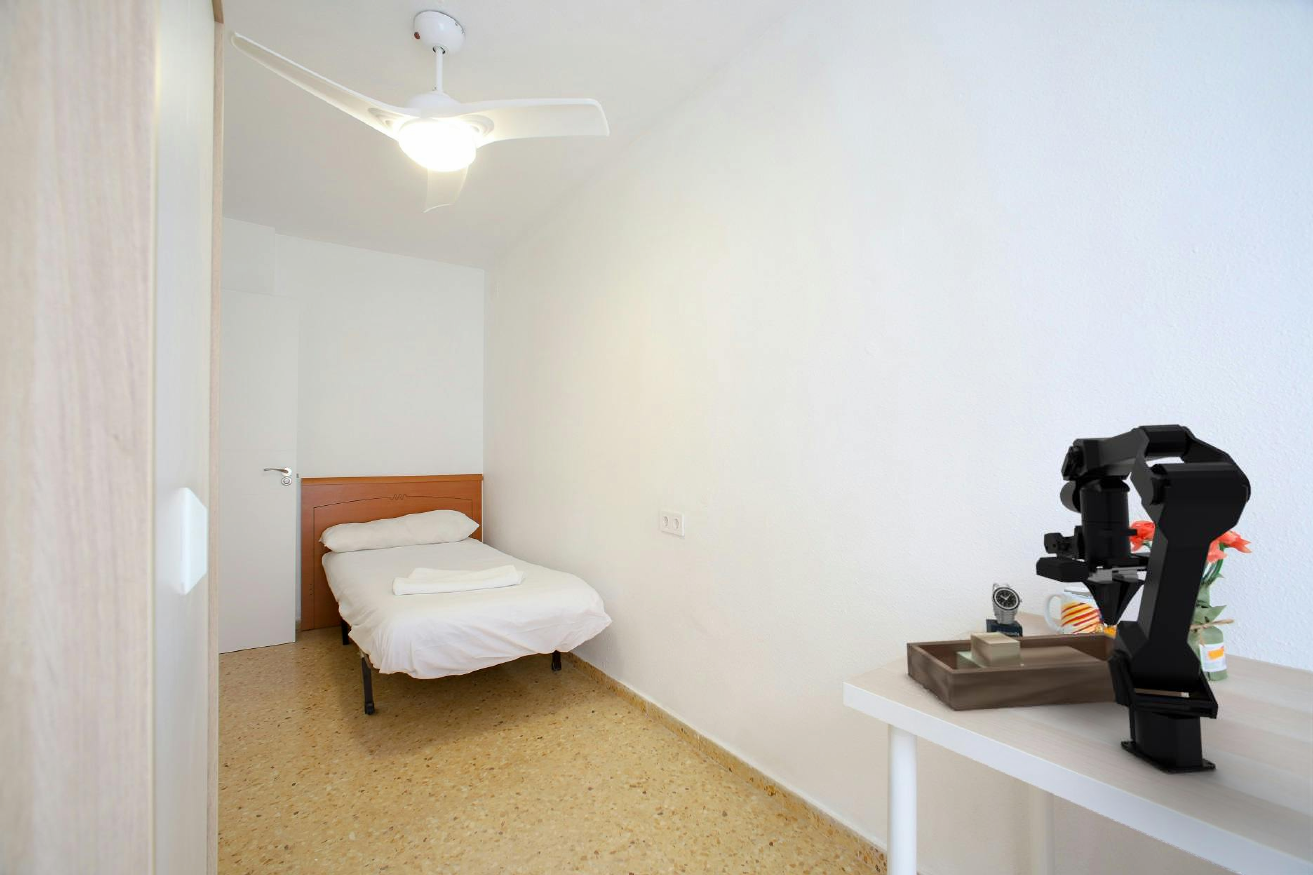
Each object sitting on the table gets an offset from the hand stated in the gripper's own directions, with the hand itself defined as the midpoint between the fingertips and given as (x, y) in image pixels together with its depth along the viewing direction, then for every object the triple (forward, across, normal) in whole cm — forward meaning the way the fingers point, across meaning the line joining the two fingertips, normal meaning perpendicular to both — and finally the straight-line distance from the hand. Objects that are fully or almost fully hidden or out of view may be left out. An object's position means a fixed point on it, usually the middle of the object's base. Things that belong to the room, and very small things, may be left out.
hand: (1110, 624), depth 85 cm
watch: (+12, -4, -31) cm, 33 cm away
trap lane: (+12, +6, -8) cm, 16 cm away
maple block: (+8, +13, -8) cm, 17 cm away
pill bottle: (+12, -18, -28) cm, 35 cm away
